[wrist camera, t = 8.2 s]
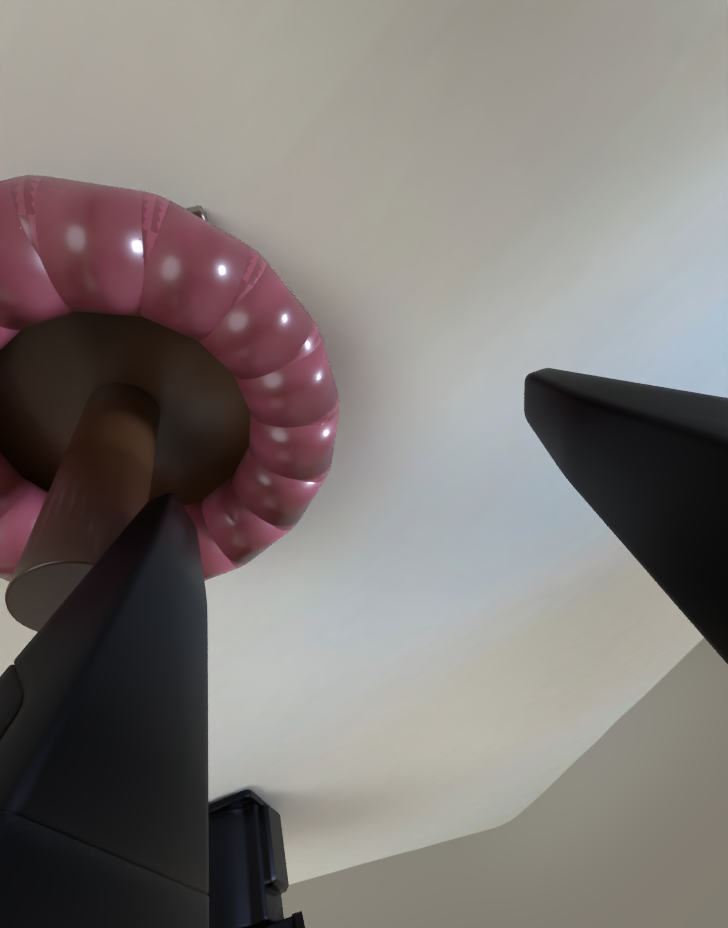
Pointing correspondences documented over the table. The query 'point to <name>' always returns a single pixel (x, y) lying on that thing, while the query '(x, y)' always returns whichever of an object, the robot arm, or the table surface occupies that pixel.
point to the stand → (108, 437)
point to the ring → (190, 313)
